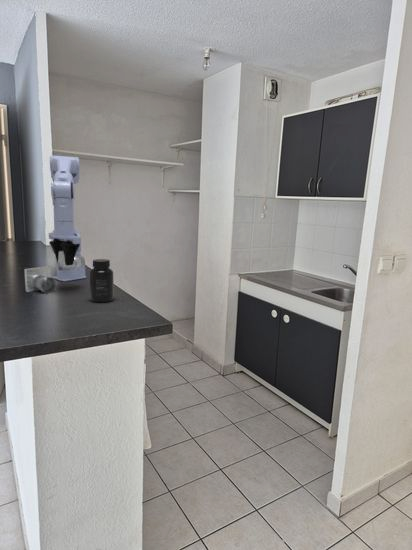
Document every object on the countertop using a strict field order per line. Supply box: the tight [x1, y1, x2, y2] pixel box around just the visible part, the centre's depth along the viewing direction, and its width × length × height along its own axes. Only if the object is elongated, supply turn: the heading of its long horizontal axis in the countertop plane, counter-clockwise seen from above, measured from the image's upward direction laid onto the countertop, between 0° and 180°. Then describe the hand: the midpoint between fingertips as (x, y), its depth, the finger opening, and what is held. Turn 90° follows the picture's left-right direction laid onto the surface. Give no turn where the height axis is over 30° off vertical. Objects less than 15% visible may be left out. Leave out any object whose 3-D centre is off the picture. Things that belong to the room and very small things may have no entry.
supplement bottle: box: [88, 258, 115, 303], centre depth 111 cm, size 7×7×12 cm
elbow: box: [58, 250, 86, 271], centre depth 120 cm, size 8×4×6 cm, turn 143°
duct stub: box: [24, 265, 57, 294], centre depth 117 cm, size 6×8×7 cm
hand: (65, 263), depth 119 cm, fingers closed on elbow, 4 cm apart
